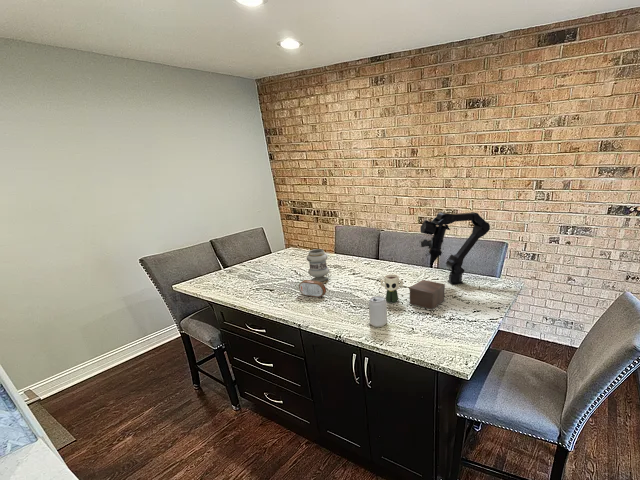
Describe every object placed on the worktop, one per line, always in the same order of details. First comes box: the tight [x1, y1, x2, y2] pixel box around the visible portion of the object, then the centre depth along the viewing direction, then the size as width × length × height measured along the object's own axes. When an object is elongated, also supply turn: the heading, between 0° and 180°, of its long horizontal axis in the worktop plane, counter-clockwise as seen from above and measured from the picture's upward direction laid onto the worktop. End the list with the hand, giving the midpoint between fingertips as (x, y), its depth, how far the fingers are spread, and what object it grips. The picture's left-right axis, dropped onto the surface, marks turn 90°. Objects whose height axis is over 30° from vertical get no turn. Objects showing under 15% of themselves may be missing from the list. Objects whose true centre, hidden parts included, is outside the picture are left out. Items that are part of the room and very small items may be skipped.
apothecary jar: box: [306, 248, 330, 284], centre depth 196 cm, size 12×12×18 cm
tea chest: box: [409, 285, 446, 310], centre depth 166 cm, size 13×13×8 cm
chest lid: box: [408, 279, 446, 294], centre depth 164 cm, size 13×13×1 cm
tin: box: [298, 279, 327, 298], centre depth 175 cm, size 15×3×8 cm, turn 71°
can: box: [368, 295, 388, 328], centre depth 144 cm, size 8×8×12 cm
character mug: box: [380, 273, 404, 303], centre depth 167 cm, size 11×7×13 cm, turn 83°
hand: (430, 264), depth 182 cm, fingers closed
